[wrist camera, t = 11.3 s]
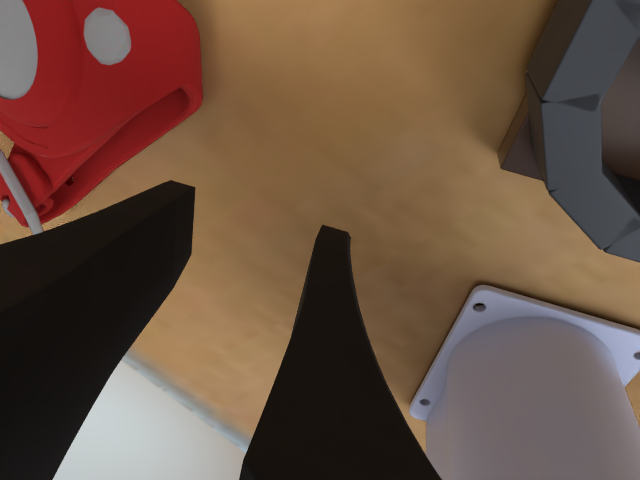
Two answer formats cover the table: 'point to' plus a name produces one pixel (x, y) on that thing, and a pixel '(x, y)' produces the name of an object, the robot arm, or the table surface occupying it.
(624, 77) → the brown peg stand
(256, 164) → the table surface
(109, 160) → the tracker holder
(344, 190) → the table surface
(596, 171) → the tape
